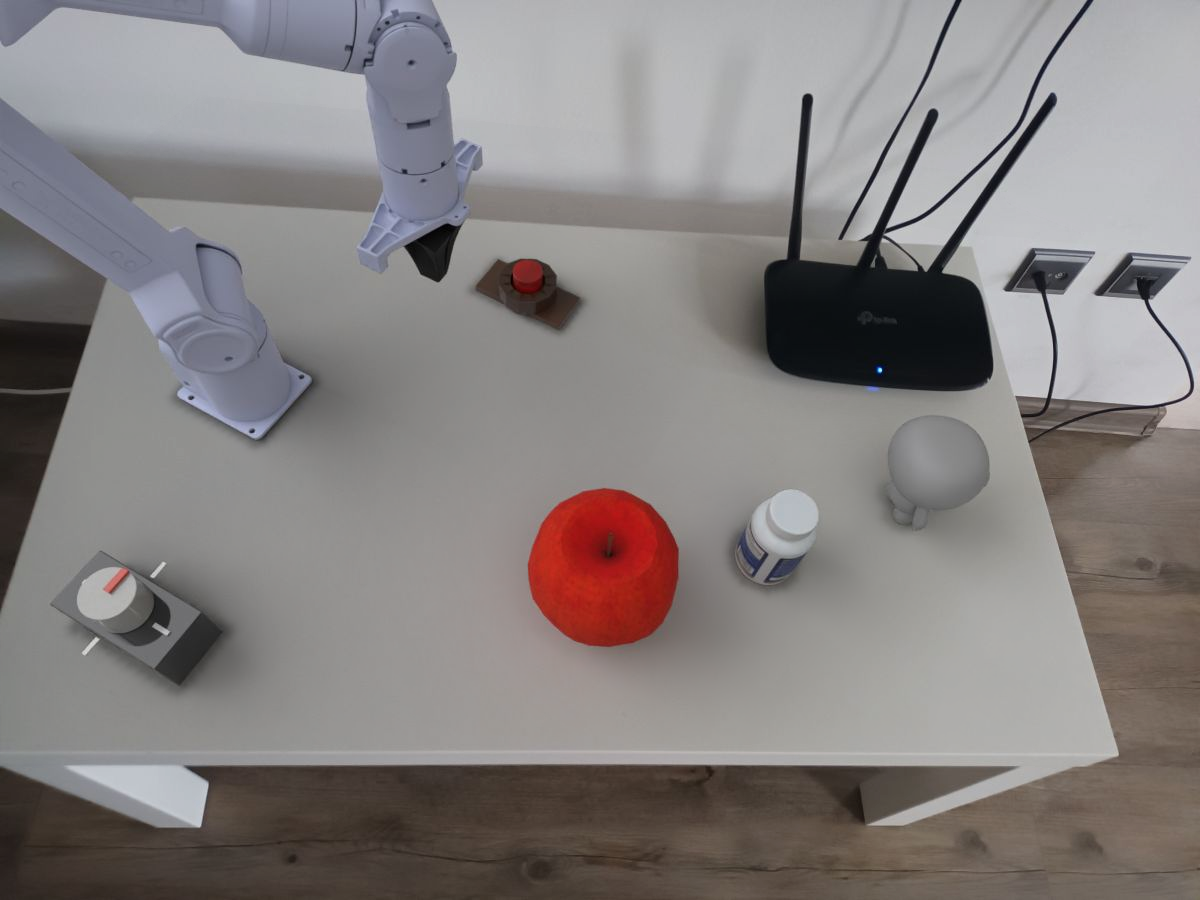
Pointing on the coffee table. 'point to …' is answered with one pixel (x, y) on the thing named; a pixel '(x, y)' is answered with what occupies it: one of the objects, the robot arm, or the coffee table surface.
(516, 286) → the button
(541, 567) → the apple
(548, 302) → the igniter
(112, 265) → the robot arm
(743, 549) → the pill bottle
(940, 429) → the figurine
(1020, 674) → the coffee table surface
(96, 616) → the hob knob
